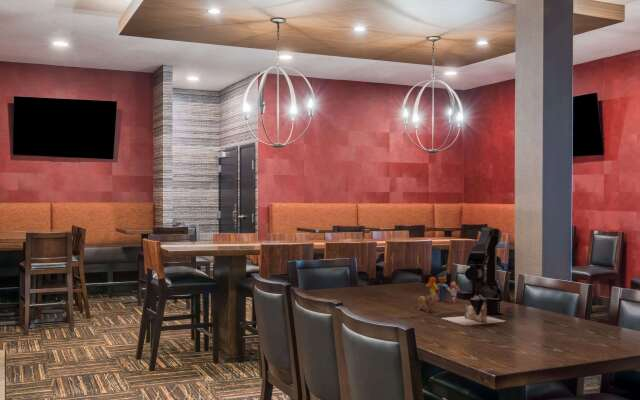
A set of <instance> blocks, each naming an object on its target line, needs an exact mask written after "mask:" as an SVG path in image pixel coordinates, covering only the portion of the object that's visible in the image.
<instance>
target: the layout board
mask: <svg viewBox="0 0 640 400" xmlns="http://www.w3.org/2000/svg"><path fill="white" fill-rule="evenodd" d="M440 319H441V320H443V319H444V321H447V320H448V321H447V322H450V321H451V323H455V324H457V325H461V326H472V325H474V326H475V325H482V324H484V325H485V324H493V323H495V324H496V323H506V320H504V319H503V320H502V319H499V318H496V317H491V316H488V315H487V322H481V321H477V320H473V319H469V318H465V315H464V316H463V315H462V316H450V317H449V316H448V317H441V318H440Z"/></svg>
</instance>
